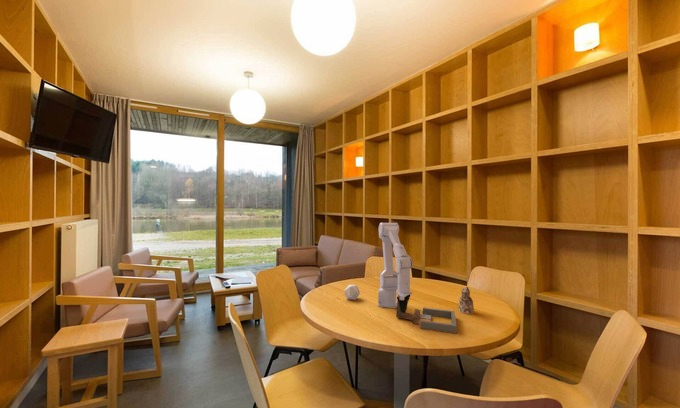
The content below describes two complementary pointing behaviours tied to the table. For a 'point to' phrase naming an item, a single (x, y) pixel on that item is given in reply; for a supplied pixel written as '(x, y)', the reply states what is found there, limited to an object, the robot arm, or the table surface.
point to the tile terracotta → (423, 320)
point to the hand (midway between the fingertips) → (403, 311)
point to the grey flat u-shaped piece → (439, 326)
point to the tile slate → (425, 316)
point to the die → (352, 292)
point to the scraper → (408, 314)
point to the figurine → (466, 302)
